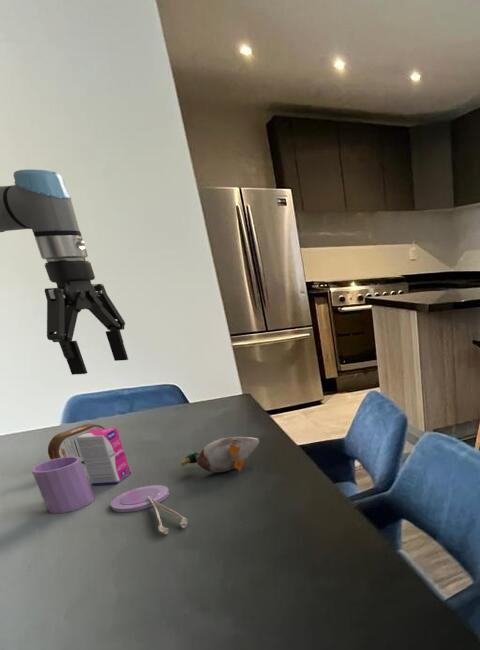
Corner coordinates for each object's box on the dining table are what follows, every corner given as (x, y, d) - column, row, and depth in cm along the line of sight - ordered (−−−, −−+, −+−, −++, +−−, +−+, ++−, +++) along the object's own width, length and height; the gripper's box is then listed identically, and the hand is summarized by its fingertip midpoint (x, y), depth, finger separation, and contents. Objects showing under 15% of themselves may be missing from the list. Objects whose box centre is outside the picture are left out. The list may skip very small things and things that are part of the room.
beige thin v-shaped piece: (190, 526, 89) (186, 516, 88) (161, 536, 86) (158, 527, 85) (162, 498, 101) (160, 489, 100) (137, 507, 98) (134, 498, 97)
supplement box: (119, 484, 109) (101, 435, 104) (91, 486, 109) (73, 437, 104) (132, 473, 114) (117, 426, 110) (106, 475, 114) (89, 428, 110)
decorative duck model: (168, 449, 109) (222, 425, 121) (180, 479, 112) (232, 453, 124) (212, 450, 102) (265, 425, 115) (224, 482, 105) (275, 454, 117)
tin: (106, 448, 131) (95, 418, 128) (116, 448, 131) (105, 418, 128) (54, 472, 118) (40, 439, 115) (64, 472, 117) (51, 439, 114)
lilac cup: (43, 517, 96) (25, 475, 92) (53, 501, 102) (37, 461, 99) (90, 507, 99) (75, 466, 95) (97, 492, 105) (82, 453, 102)
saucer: (107, 517, 94) (106, 513, 94) (115, 496, 103) (113, 492, 103) (168, 503, 98) (167, 499, 98) (170, 484, 107) (169, 480, 107)
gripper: (36, 260, 86) (78, 379, 94) (124, 258, 109) (151, 354, 117) (-6, 262, 86) (39, 381, 94) (90, 260, 109) (120, 356, 117)
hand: (101, 366), depth 105 cm, fingers open, 13 cm apart
